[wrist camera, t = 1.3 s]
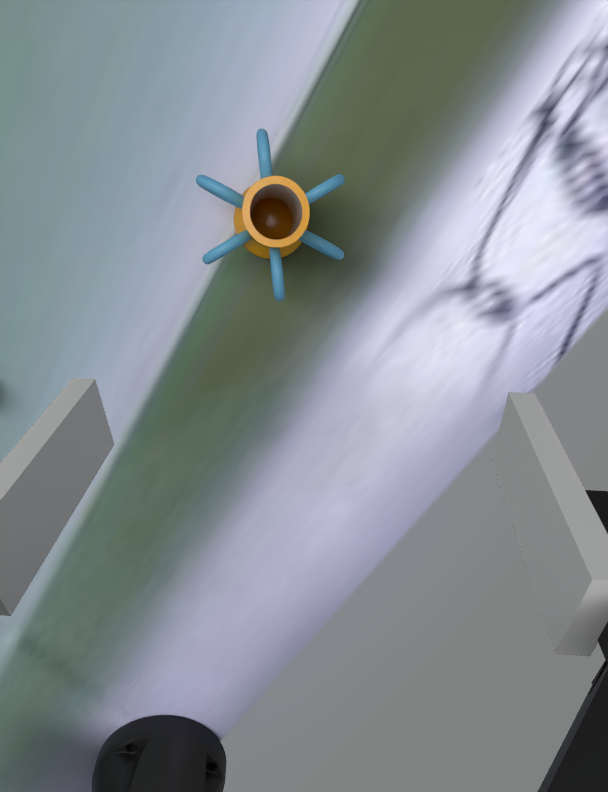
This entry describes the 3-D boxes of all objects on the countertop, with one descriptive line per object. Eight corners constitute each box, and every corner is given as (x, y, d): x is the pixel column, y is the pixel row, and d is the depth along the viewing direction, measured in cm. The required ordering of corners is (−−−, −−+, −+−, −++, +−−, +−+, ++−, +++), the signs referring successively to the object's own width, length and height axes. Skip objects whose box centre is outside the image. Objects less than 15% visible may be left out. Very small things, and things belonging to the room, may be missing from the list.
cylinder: (180, 245, 44) (143, 246, 30) (230, 128, 42) (217, 68, 28) (304, 308, 47) (325, 336, 32) (358, 200, 44) (406, 180, 30)
